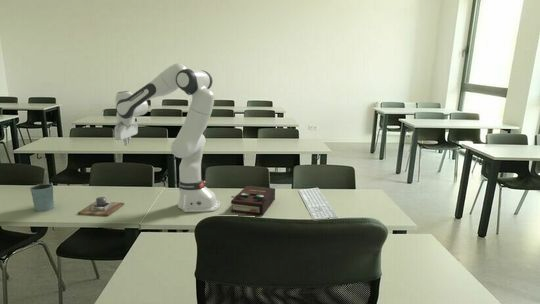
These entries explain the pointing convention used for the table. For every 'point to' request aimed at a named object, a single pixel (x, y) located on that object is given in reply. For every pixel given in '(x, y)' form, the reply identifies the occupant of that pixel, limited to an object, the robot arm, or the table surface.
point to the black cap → (101, 201)
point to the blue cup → (42, 197)
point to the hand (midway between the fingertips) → (127, 145)
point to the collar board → (101, 209)
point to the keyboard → (317, 204)
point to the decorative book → (253, 200)
